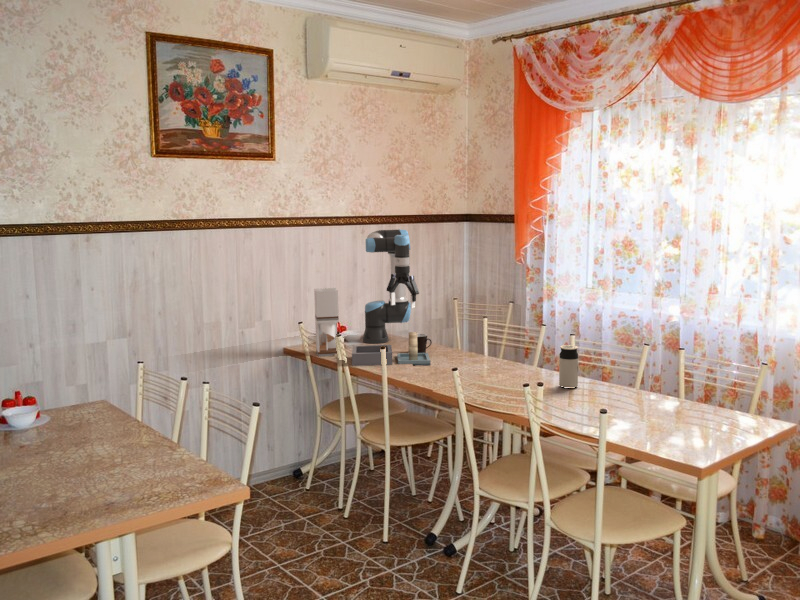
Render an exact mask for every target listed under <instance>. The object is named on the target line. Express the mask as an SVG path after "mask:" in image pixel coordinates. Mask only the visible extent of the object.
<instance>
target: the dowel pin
mask: <svg viewBox="0 0 800 600" xmlns="http://www.w3.org/2000/svg"><path fill="white" fill-rule="evenodd" d="M417 334H418V332H416V331H410V332H408V353H409V360H418V344H417Z"/></svg>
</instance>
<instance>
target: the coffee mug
mask: <svg viewBox="0 0 800 600" xmlns="http://www.w3.org/2000/svg"><path fill="white" fill-rule="evenodd" d="M427 341H429V342H430V343H429V345H428V346H427V343H428V342H427ZM417 344H418V353H427V349H428V348H430V347H431V345H432V340H431V339H430V338H428V334H426V333H417Z"/></svg>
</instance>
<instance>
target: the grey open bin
mask: <svg viewBox="0 0 800 600" xmlns="http://www.w3.org/2000/svg"><path fill="white" fill-rule="evenodd" d="M381 346H385V347H386V359H387V365H386V366H393V349H392V348H393V347H392V344H377V345H376V344H373V345H372V344H367V345H365V344H364V345H352V351H351V365H352V367H353V366H354V367H357V366H358V367H359V366H382V365H381V352H380V347H381Z"/></svg>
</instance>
